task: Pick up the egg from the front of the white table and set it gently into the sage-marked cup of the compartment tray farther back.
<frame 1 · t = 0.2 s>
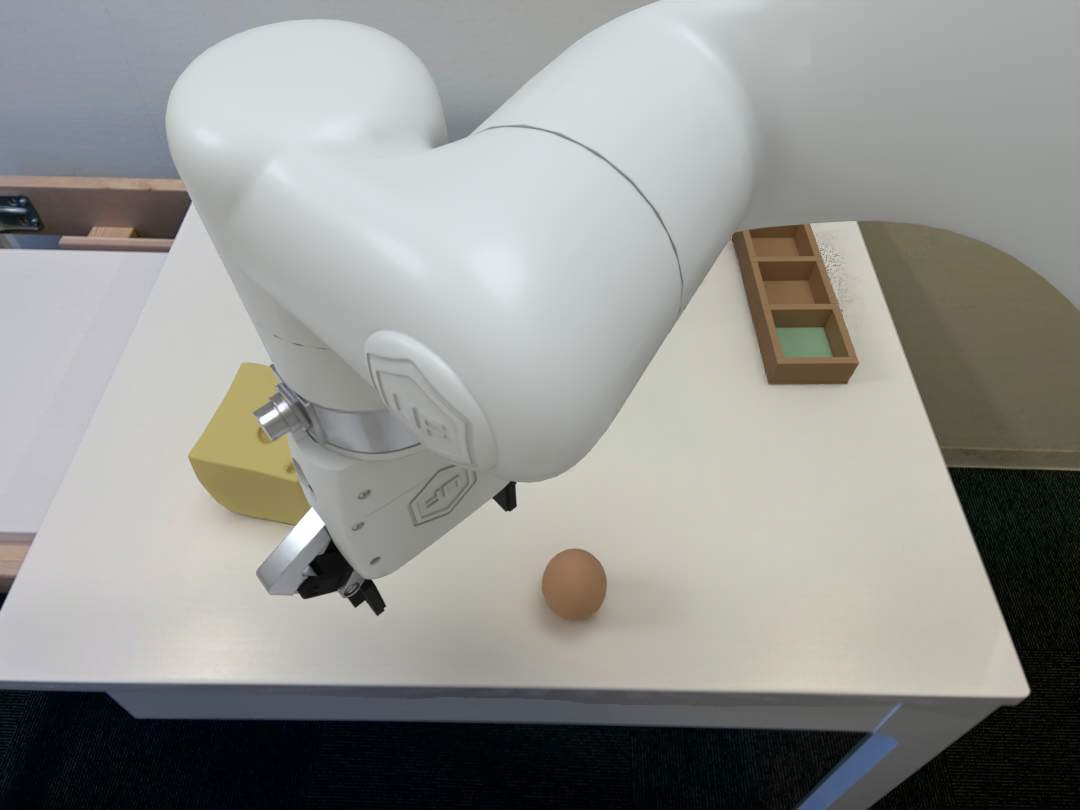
hand: (434, 542, 42), 18 cm above the table, tool pointing down, fingers open, 9 cm apart
dark blue cylinder: (336, 321, 77), on the table
fruit: (535, 320, 77), on the table
egg: (572, 602, 59), on the table
blue toy backpack: (566, 218, 87), on the table
cheese: (302, 479, 66), on the table
compartment tray: (784, 303, 78), on the table
salt shaker: (436, 409, 70), on the table
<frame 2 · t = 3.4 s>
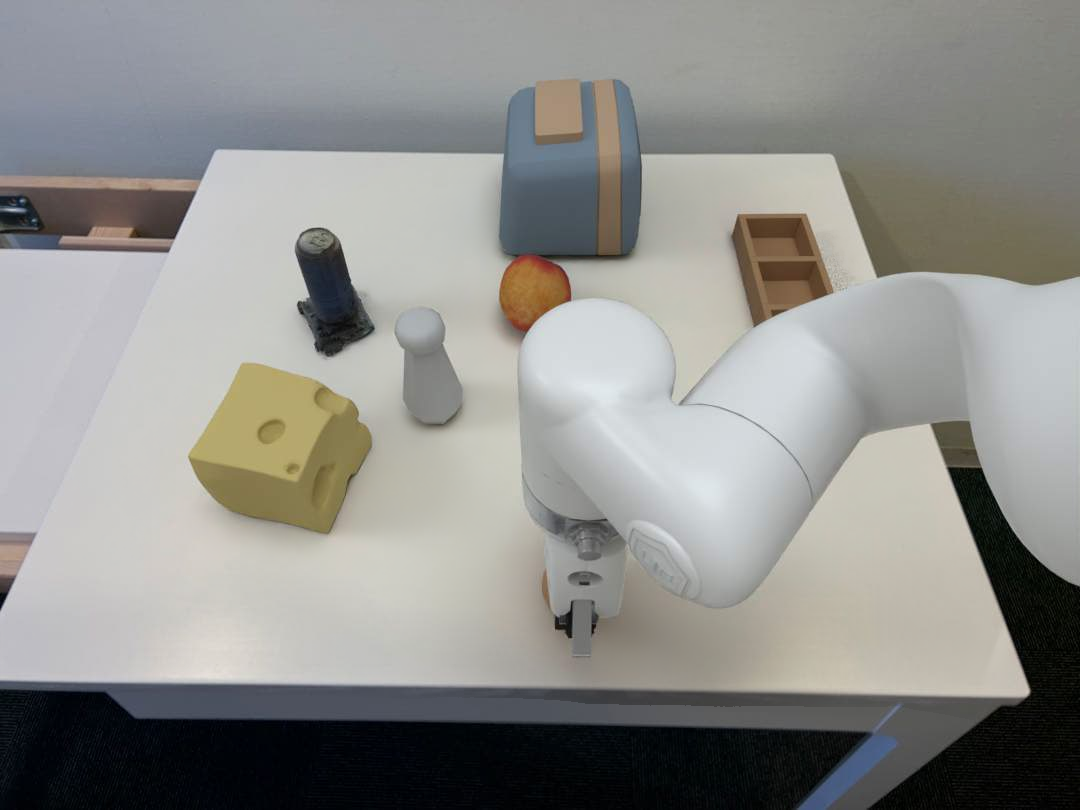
hand: (573, 588, 56), 3 cm above the table, tool pointing down, fingers closed on egg, 5 cm apart
egg: (572, 602, 59), on the table, touching gripper
everything else where it was.
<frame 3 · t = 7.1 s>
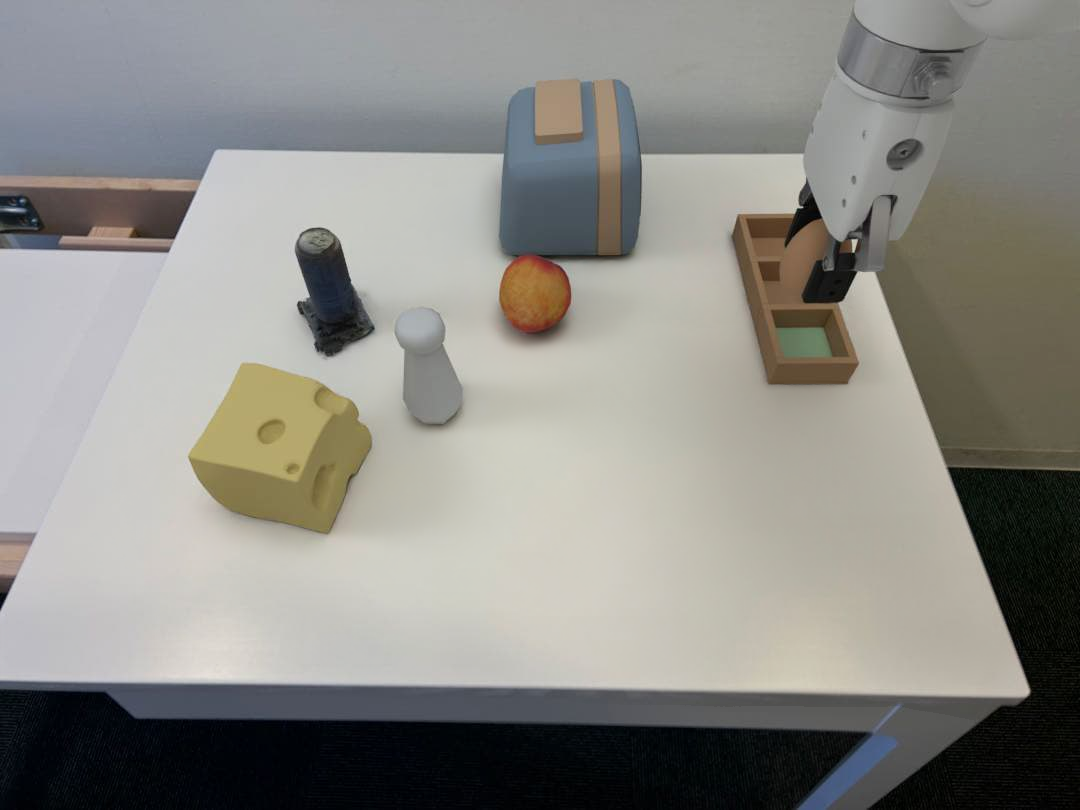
hand: (812, 272, 56), 17 cm above the table, tool pointing down, fingers closed on egg, 5 cm apart
egg: (800, 299, 59), point 14 cm above the table, touching gripper
everything else where it was.
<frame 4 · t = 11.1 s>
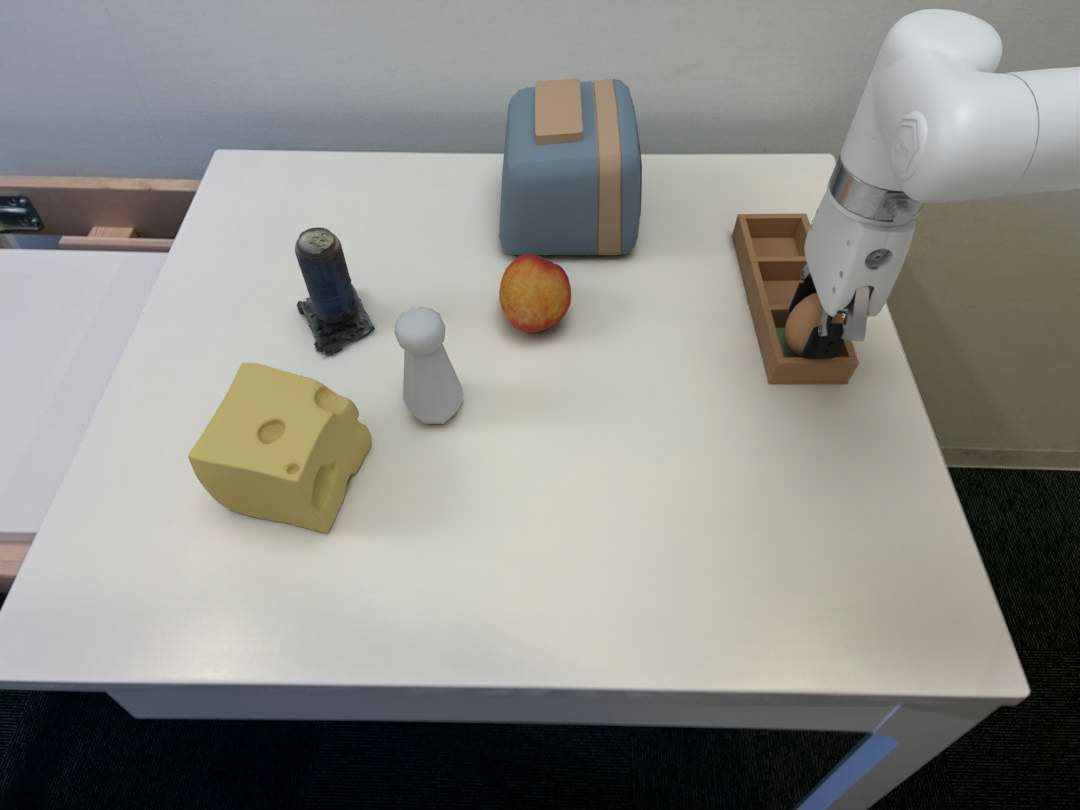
hand: (811, 332, 71), 4 cm above the table, tool pointing down, fingers closed on egg, 5 cm apart
egg: (801, 352, 73), point 1 cm above the table, touching gripper
everything else where it was.
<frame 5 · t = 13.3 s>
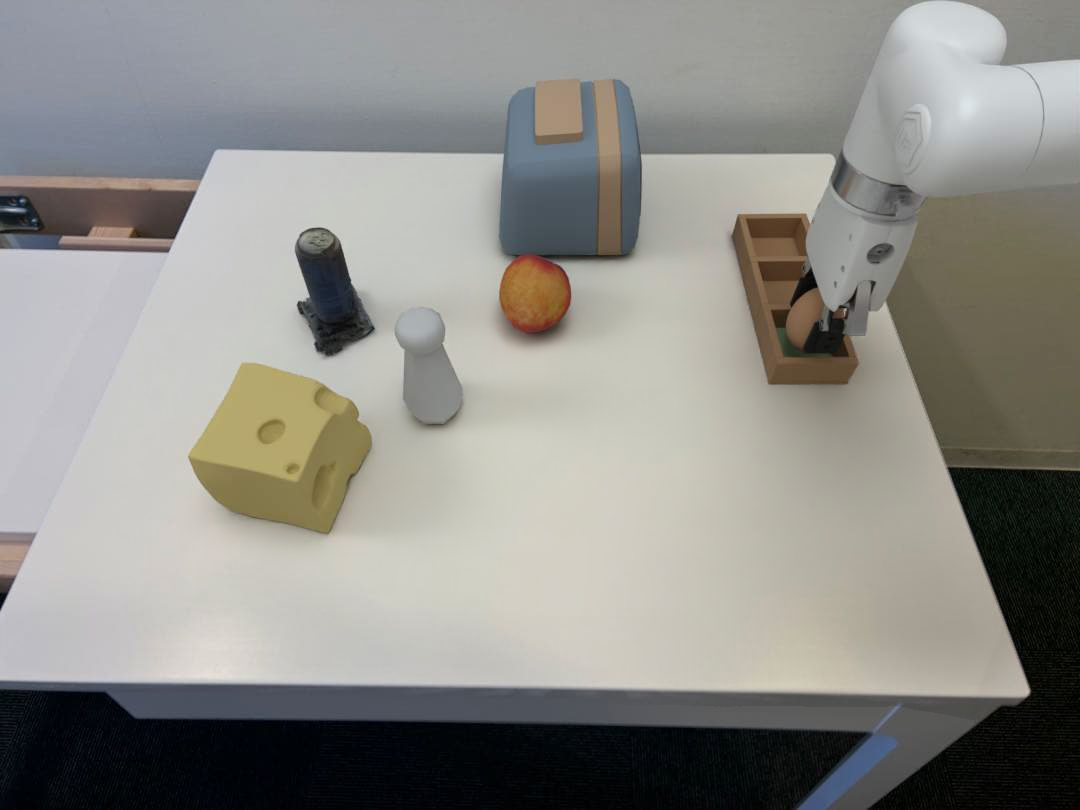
hand: (812, 327, 70), 4 cm above the table, tool pointing down, fingers closed on egg, 5 cm apart
egg: (802, 347, 73), point 1 cm above the table, touching gripper
everything else where it was.
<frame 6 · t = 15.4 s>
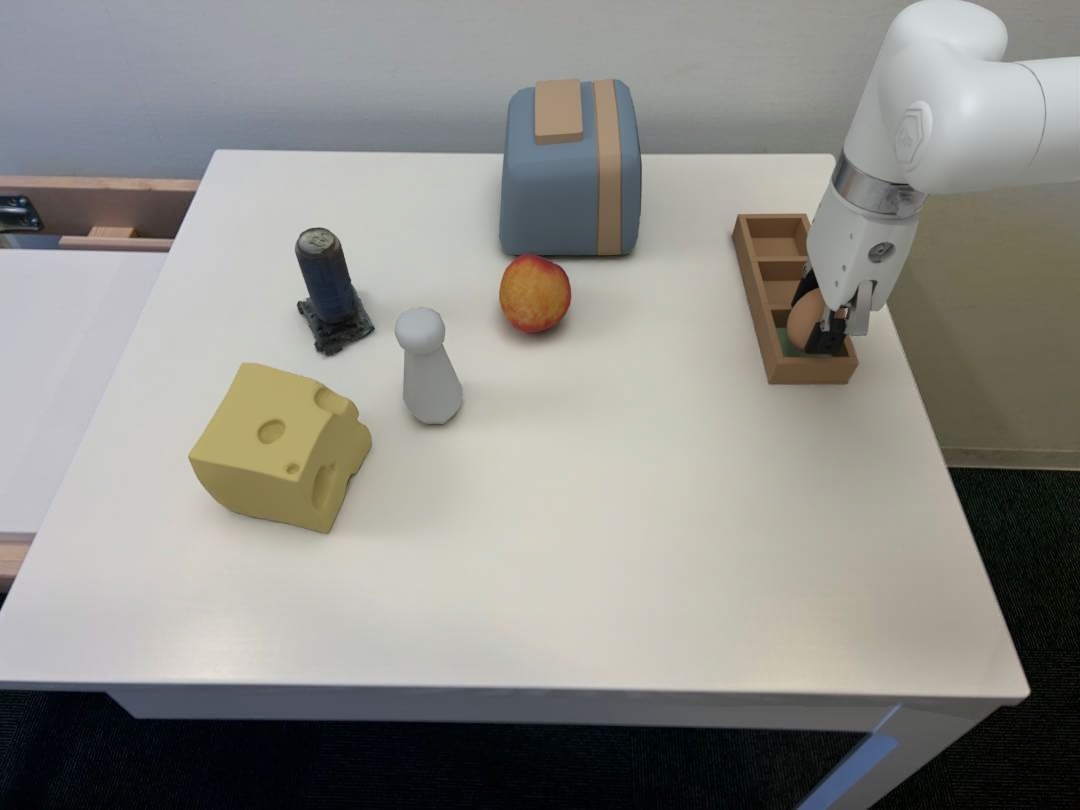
hand: (813, 328, 70), 4 cm above the table, tool pointing down, fingers closed on egg, 5 cm apart
egg: (803, 348, 73), point 1 cm above the table, touching gripper
everything else where it was.
when the fingers open (5 cm above the table, at t = 19.6 s): egg drops 1 cm, resting on compartment tray.
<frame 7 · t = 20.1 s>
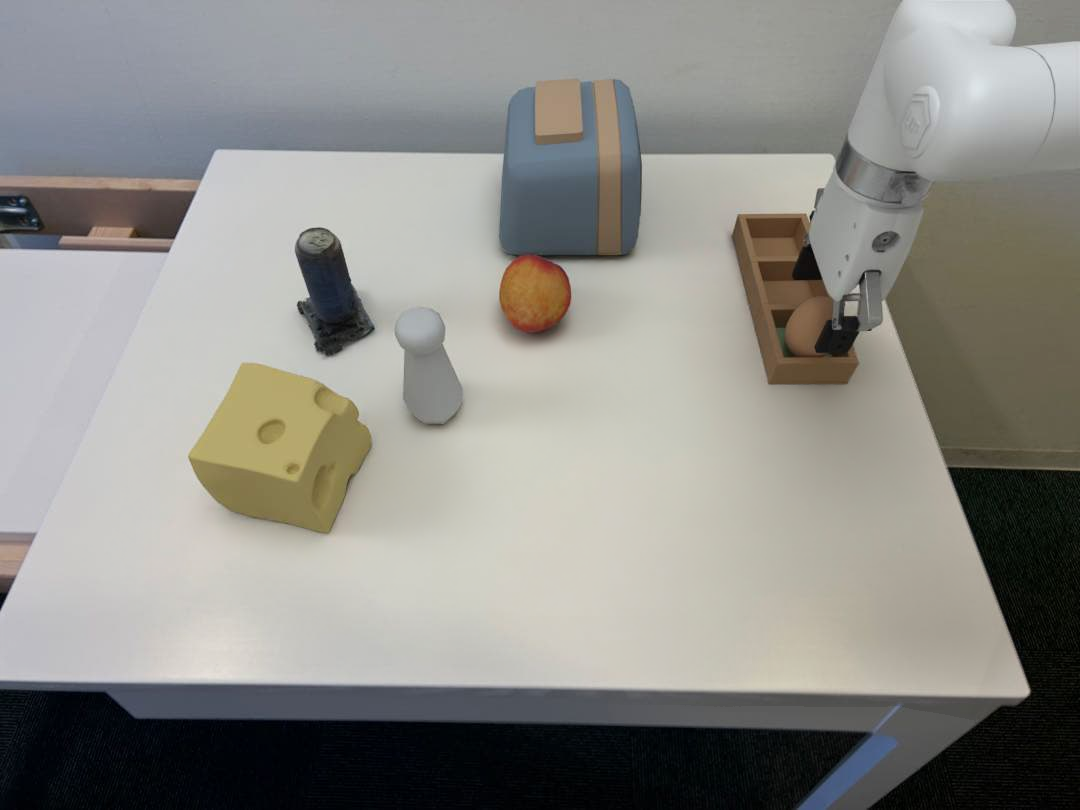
hand: (818, 312, 69), 6 cm above the table, tool pointing down, fingers open, 9 cm apart
egg: (801, 355, 73), resting on compartment tray
everything else where it was.
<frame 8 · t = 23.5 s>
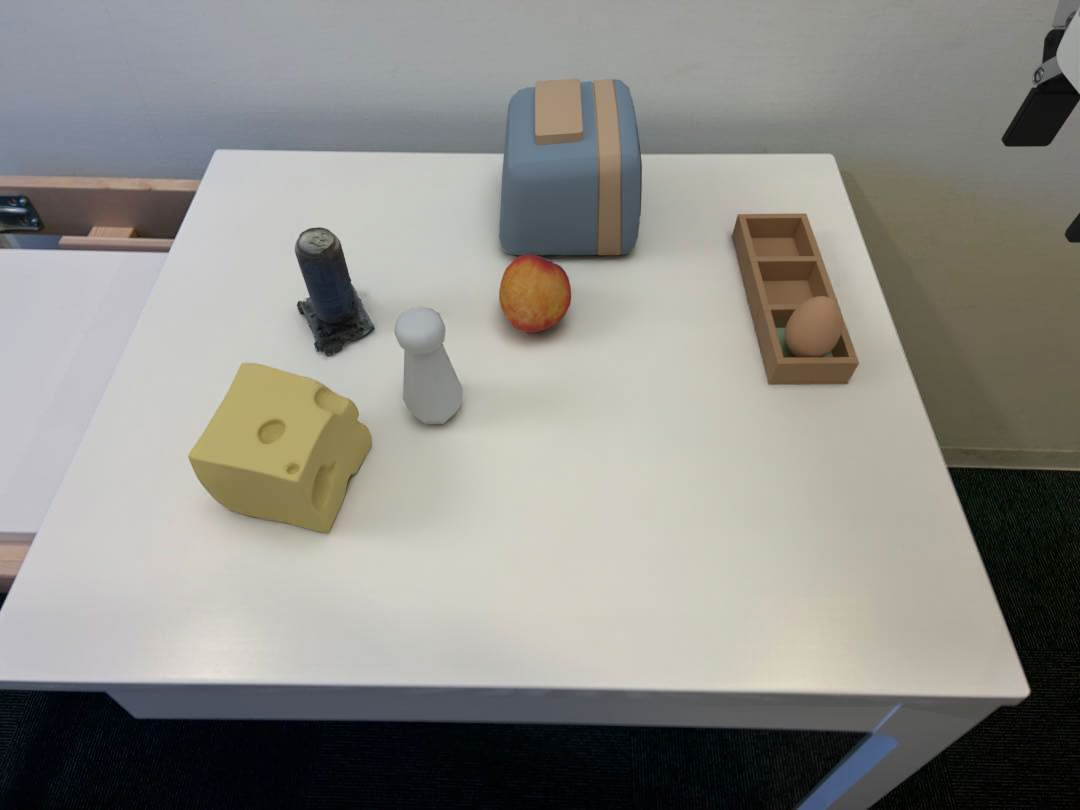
hand: (1054, 188, 45), 28 cm above the table, tool pointing down, fingers open, 9 cm apart
nothing on the table moved.
at the end: egg 0.5 cm from the target spot in the compartment tray, point 0.4 cm above the compartment tray's base; the gripper is holding nothing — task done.
